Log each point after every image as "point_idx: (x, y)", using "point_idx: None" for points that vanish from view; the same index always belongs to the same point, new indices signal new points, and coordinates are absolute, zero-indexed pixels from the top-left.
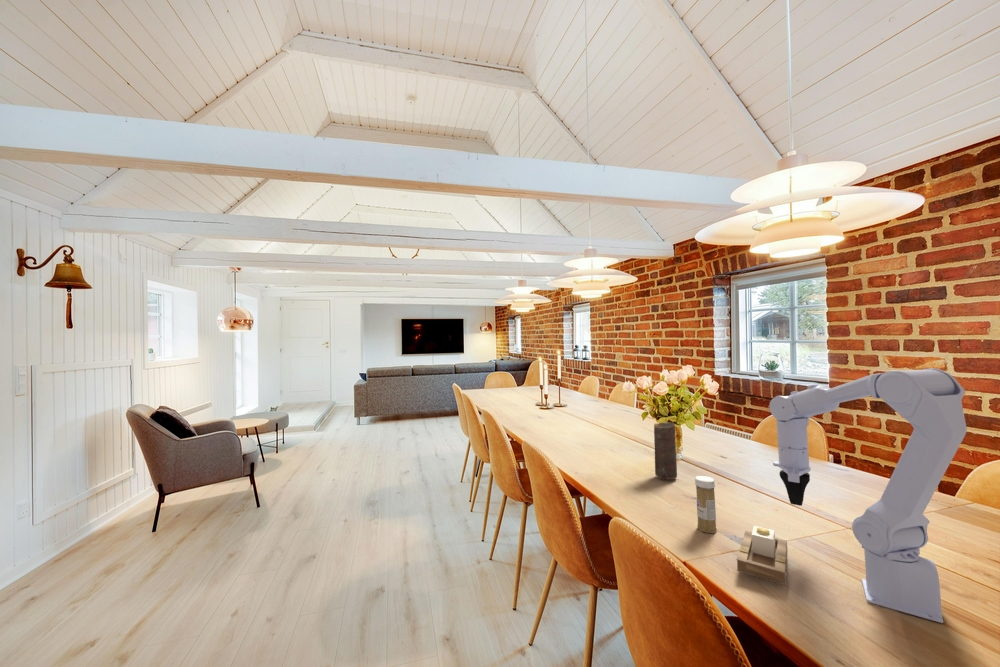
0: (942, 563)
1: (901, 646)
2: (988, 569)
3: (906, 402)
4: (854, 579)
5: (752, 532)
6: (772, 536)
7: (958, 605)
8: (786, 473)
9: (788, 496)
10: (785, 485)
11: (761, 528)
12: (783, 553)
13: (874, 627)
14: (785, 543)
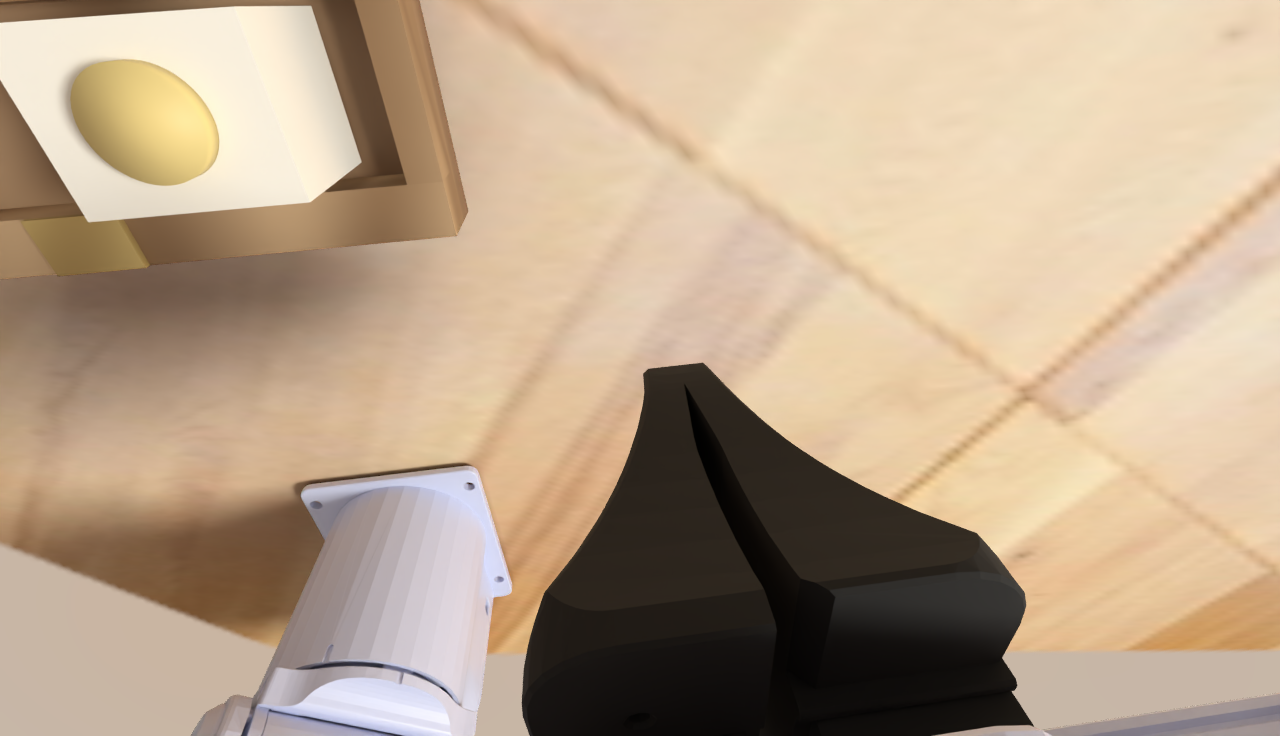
0: None
1: (104, 551)
2: None
3: None
4: (471, 442)
5: (32, 24)
6: (152, 207)
7: (533, 618)
8: (712, 708)
9: (645, 404)
10: (607, 507)
11: (165, 107)
12: (209, 245)
13: (138, 503)
14: (394, 235)
